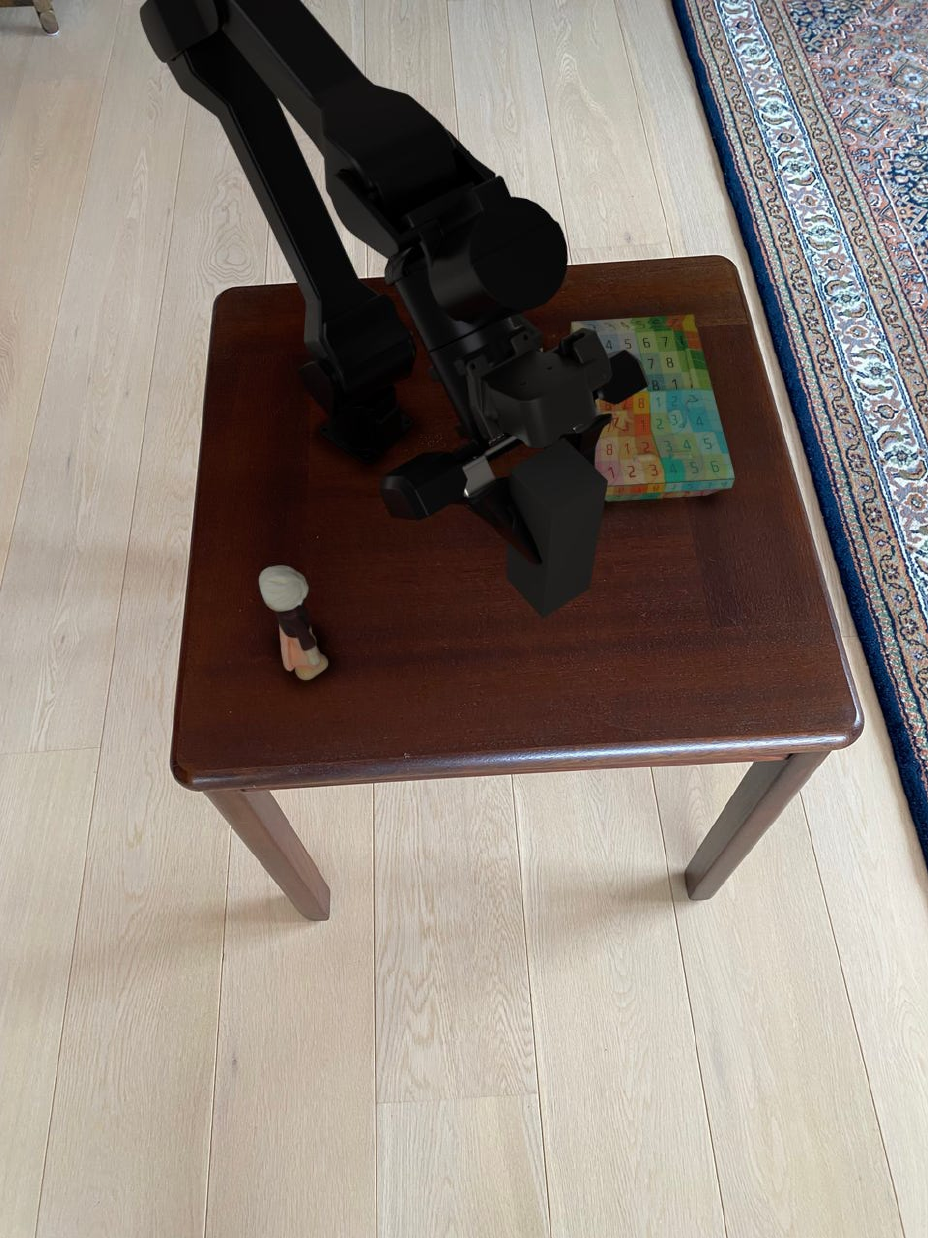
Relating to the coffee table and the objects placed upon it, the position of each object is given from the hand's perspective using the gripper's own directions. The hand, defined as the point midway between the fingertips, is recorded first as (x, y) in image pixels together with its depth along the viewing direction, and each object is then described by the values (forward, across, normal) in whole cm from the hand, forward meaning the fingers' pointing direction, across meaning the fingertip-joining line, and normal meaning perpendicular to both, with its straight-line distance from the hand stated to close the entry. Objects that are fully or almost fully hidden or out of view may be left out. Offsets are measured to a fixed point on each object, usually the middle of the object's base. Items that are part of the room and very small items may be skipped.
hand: (565, 546), depth 63 cm
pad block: (+4, 0, +6) cm, 7 cm away
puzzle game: (+1, +21, +19) cm, 29 cm away
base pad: (-11, +15, +30) cm, 36 cm away
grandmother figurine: (+2, -17, +17) cm, 24 cm away
